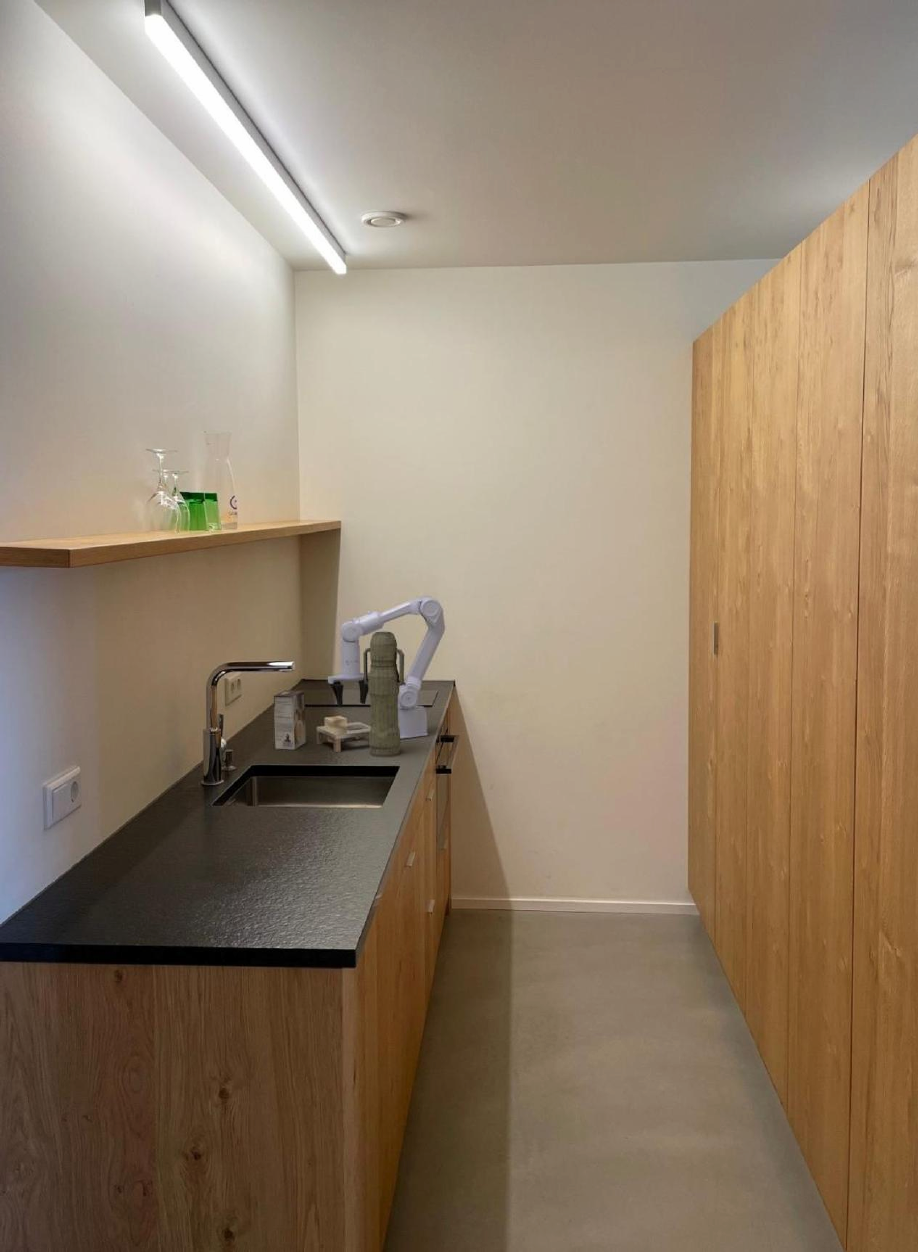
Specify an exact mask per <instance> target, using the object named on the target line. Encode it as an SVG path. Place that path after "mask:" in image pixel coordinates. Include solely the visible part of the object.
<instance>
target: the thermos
mask: <svg viewBox="0 0 918 1252" xmlns="http://www.w3.org/2000/svg"><path fill="white" fill-rule="evenodd" d="M368 654H369V656H370V660H369V661H370V665H369V666H370V667H369V668H370V669H369V670H368ZM398 657H399V658H398ZM398 659H399V662H398V663H399V670H398V664H397V660H398ZM368 671H369V672H368ZM363 673H364V684H367V686H369V691H368V695H369V698H370V705H369V706H370V726H371V729H370V732H369V735H368V745H369V755H370V754H371V756H373V757H378V758H382V757H383V758H386V757H387V758H390V757H394V756H395V757H396V756H398V755H400V753H401V749H400V746H401V738H400V729H399V727H398V695H399V692H400V690H399V686H401V685H402V684H403V683H404V678H405V653H404V652H403V650H402V649H399V648H398V643H397V639H396V636H395V633H393V632H391V631H374V633H372V636H371V638H370V643H369V647H367V648H365V650H364V652H363ZM368 673H369V675H368ZM389 756H390V757H389Z"/></svg>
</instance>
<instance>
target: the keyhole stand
mask: <svg viewBox="0 0 918 1252" xmlns="http://www.w3.org/2000/svg"><path fill="white" fill-rule="evenodd" d="M370 729H371V725H368V724H365V723H363V722H360V721H354V722H347V731H339V732H329V731H327V730H325V725H322V726H316V743H317V744H318V745H323V744H322V743H324V741H325V739H324V735H326V736H327V737H328V736H330V737H332V738H333V740H334V742H333V752H334V753H336V752H337V753H341V752H342V750H341V742H340V738H345V739H347V738H354V739H355V738H361V739H362V736H369V732H370Z"/></svg>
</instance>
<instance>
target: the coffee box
mask: <svg viewBox="0 0 918 1252" xmlns="http://www.w3.org/2000/svg"><path fill="white" fill-rule="evenodd" d="M305 701H306V700H305V690H291V689H290V690H288V689H287V690H283V691H280V692H279V693H277V694H275V695H273V712H274V714H273V715H274V740H275V741H274V743H275V746H274V748H275V749H276V750H296V749H298V748H299V747H301V746H302V745H304V744H306V743H307V739H306V738H307V737H306V736H307V735H306V733H307V731H306V711H305V710H306V705H305V704H306V702H305Z"/></svg>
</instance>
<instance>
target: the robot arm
mask: <svg viewBox="0 0 918 1252" xmlns="http://www.w3.org/2000/svg"><path fill="white" fill-rule="evenodd" d="M366 613H367V614H365V615H362V616H360V617H358V618H357V617H354V618H352V620H353V621H350V620H349V621H345V622H344V623H342V625H341V626H340V630H339V634H340V636H341V641H340V642H341V643H340V644H341V646H340V655H341V656H340V657H341V658H340V659H341V674H336V675H332V676H331V675H330V676H327V683H328V684H329V685H330V688H331V689H332V691H333V693H334V696H335V700H336V703H337V707H338V706H339V707H343V702H344V701H343V695H344V694H343V693H344V688H345V687H344V685H343V684H342V683H348V682H349V683H350V682H358V687H359V702H360V704H362V705H366V701H367V696H368V695H369V686H367V684H364V672H361V646H360V637H362V636H363V637H364V636H367V635H370V634H371V633H372V634H373V633H375V632H378V631H379V630H381V629H383V628H384V625H385V623H388V622H390V621H393V620H396V619H399V618H401V617H404V616H407V615H416V616H421V617H422V618H423V620H424V621H425V622H424V623H426V627H427V631H426V633H425V635H424V638H423V640H422V642H421V644H420V646H419V649H418V650H417V653H416V655H415V657H414V659H413V662H412V663H411V666H410V668H409V671H407V672H408V673H407V674H406V676H404V683H403V684H402V685H401V686H399V690H400V692H399V695H398V727H399V729H400V740H401V739H402V740H403V739H408V738H409V739H411V738H417V737H424V736H425V737H426V736H429V733H428V716H427V715H428V714H427V710H426V707H424V705H419V704H418V703H419V692H420V690H421V688H422V683H423V682H422V681H423V679H424V678H425V675H426V673H427V670H428V669H429V666H430V664H431V662H432V659H433V657H434V655H435V653H436V651H437V648H438V647H439V645H440V642H441V640H442V638H443V636H444V633H445V631H446V626H445V625H446V624H445V619H444V618H445V617H444V608H443V607H442V604H441V603H440V602H439V601H438V599H436V598H434V597H432V596H430V595H423V596H421V597H420V598H419V597H416V598H412V599H410V600H407V601H405V602H403V603H400V604H399V605H396V606H393V607H391V608H389V609H387V610H385V611H383V612H378V611H376V610H374V611H372V610H369V611H367V612H366ZM368 675H369V672H368Z"/></svg>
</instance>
